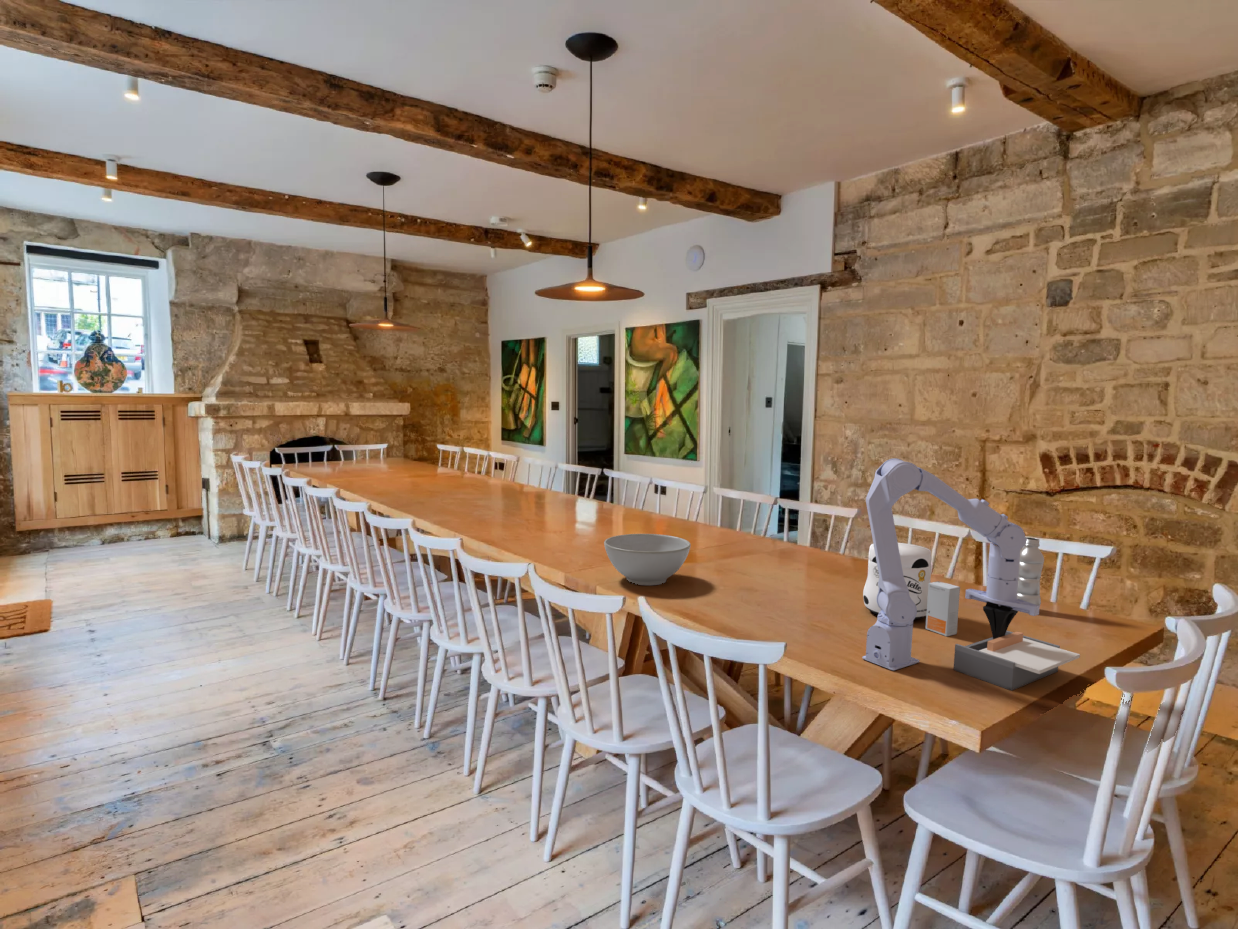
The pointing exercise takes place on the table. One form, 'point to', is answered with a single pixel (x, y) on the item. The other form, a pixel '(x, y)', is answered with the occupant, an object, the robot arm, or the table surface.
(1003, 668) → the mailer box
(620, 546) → the decorative bowl
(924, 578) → the milk container
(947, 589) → the skincare box
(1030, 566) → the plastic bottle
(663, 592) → the table surface
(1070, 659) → the lid
